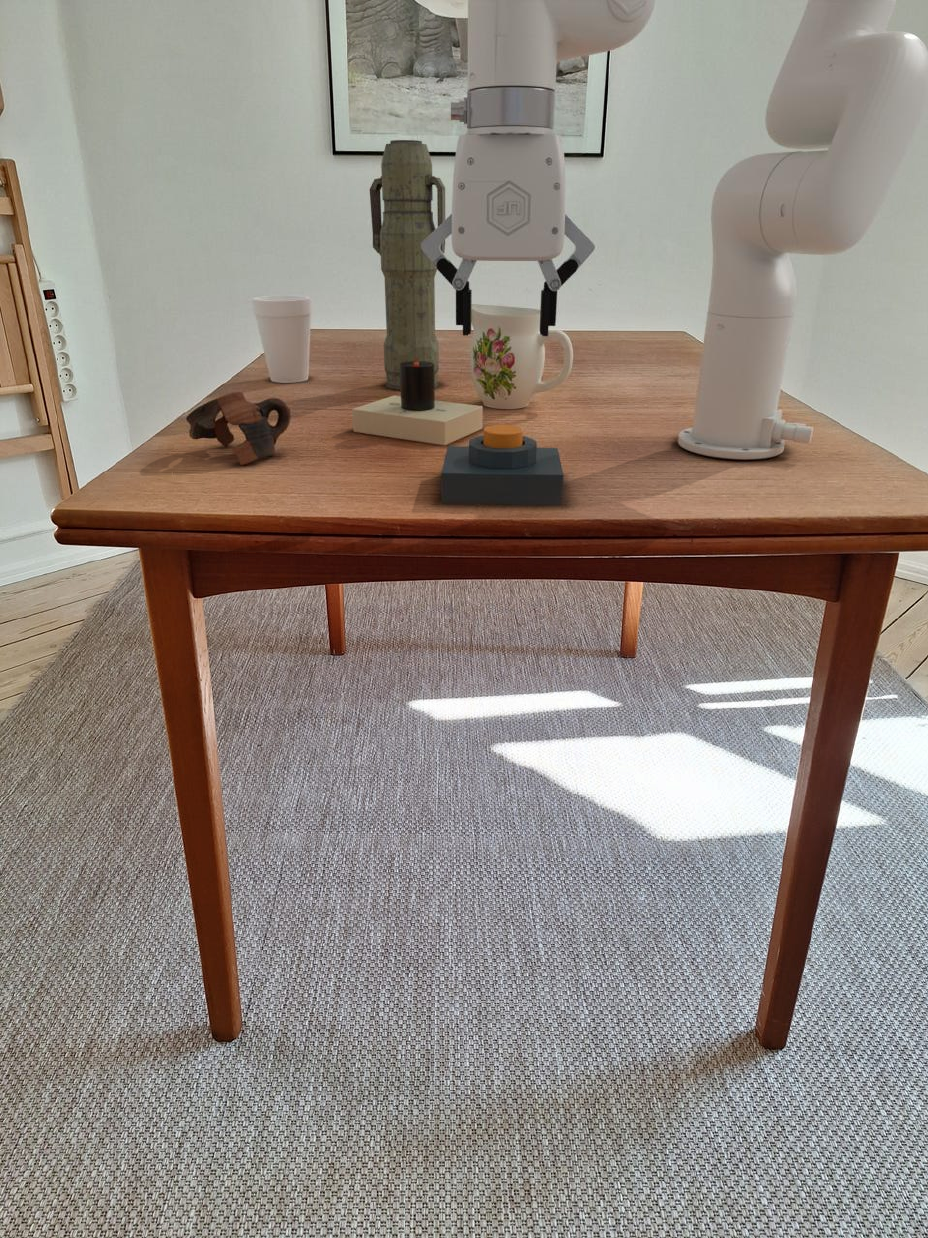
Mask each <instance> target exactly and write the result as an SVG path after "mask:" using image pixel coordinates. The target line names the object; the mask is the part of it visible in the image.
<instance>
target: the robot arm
mask: <svg viewBox="0 0 928 1238" xmlns="http://www.w3.org/2000/svg"><path fill="white" fill-rule="evenodd" d="M896 2H897V0H808V1H807V4H806V6H805V10H804V12H803V15H802V17H801V20H800V22H799V24H798V27H797V29H796V31H795V34H794V36H793V39H792V41H791V43H790V46H789V48H788V50H787V53H786V55H785V58H784V60H783V62H782V65H781V67H780V70H779V71H778V75H777V76H776V79H775V82H774V84H773V87H772V90H771V92H770V94H769V99H768V102H767V106H766V108H765V118H764V122H765V123H764V124H765V129H766V132H767V135H768V136H769V138H770V139H771V140H772V141H773V142H774V143H775V144H777V145H779V146H780V147H784V148H787V149H794V150H797V151H784V152H782V151H781V152H769V153H768V152H767V153H760V154H756V155H755V154H754V155H752V156H749V157H746V158H744V159H742V160H739V161H738V162H735V164H733V165H732V166H731V167H730V168H728V170H726V172H724V174H723V175H722V177H721V178H720V179H719V181H718V183H717V186H716V188H715V191H714V193H713V197H712V201H711V211H710V212H711V213H710V223H711V237H712V239H711V241H712V242H711V243H712V267H711V269H712V270H711V281H710V291H709V299H708V306H707V312H706V313H707V314H706V320H705V328H704V335H703V336H704V337H703V344H702V351H701V352H702V353H701V359H700V367H699V375H698V381H697V388H696V389H697V390H696V397H695V403H694V413H693V419H692V427H689V428H686V429H683V430H681V431H680V432H679V433H678V437H677V444H678V445H679V446H680V447H681V448H683V449H685V450H686V451H688V452H690V453H694V454H697V455H701V456H705V457H711V458H717V459H727V460H745V461H747V460H748V461H749V460H762V459H763V460H765V459H770V458H773V457H776V456H779V455H780V454H782V453H783V452H784V449H785V441H792V442H793V443H798V444H799V443H801V444H808V445H809V444H811V441H812V438H813V433H814V426H807V425H806V423H800V422H788V421H787V422H786V419H782V416H783V410H782V409H778V406H779V401H780V395H781V391H782V384H783V378H784V372H785V367H786V361H787V357H788V356H787V355H788V349H789V344H790V338H791V333H792V326H793V322H794V315H795V312H796V305H797V300H798V286H797V279H796V274H795V270H794V265H793V264H792V260H791V257H790V254H795V255H796V254H798V255H812V256H814V255H816V256H817V255H819V256H820V255H821V256H831V255H836V254H841V253H844V252H846V251H849V250H850V249H851V248H853V247H854V246H855V245H857V244H858V243H859V242H860V241H861V240H862V239H863V237H864V236H865V235H866V234H867V232H868V230H869V229H870V228H871V226H872V224H873V222H874V221H875V219H876V217H877V215H878V213H879V211H880V209H881V207H882V204H883V203H884V201H885V199H886V196H887V195H888V192H889V190H890V188H891V186H892V183H893V181H894V180H895V177H896V174H897V172H898V170H899V169H900V166H901V165H902V162H903V159H904V157H905V156H906V153H907V151H908V149H909V147H910V145H911V142H912V141H913V138H914V137H915V134H916V132H917V130H918V127H919V125H920V122H921V120H922V118H923V116H924V112H925V109H926V106H927V103H928V49H927V46H926V45H925V43H924V42H923V41H922V39H920V38H919V37H918V36H917V35H915V34H913V33H911V32H908V31H903V30H889V31H887V28H888V26H889V23H890V21H891V18H892V15H893V13H894V9H895V7H896V4H897V3H896ZM655 4H656V0H467V92H466V97H463V100H459V102H458V101H457V102H455V101H454V102H450V121H459V123H463V124H464V126H465V125H466V128H467V130H466V131H467V133H466V134H461V135H458V139H457V145H456V150H455V158H454V166H453V177H452V179H453V180H452V195H451V196H452V199H451V200H452V201H451V213H450V215H449V216H448V217H446V218H445V221H444V222H443V223H442V224H441V225H439V226H438V225H437V227H435V230H434V231H433V232H432V233H431V234H430V235H429V236H428V237H427V238H426V239H425V240H424V241H423V242H422V244H421V249H422V251H423V252H424V253H425V254H426V256H427V257H428V258H429V259H430V261H431V262H432V263H433V264H434V265H435V266H436V268H437V271H438V272H439V273H440V274H441V275H442V277H444V278H445V280H446V281H447V282H448V283H449V284H450V285H451V286H452V288H453V289H454V290H455V326H462V336H464V337H465V336H467V337H469V335H471V334H472V323H471V306H472V304H473V303H472V299H473V298H472V297H473V295H472V292H473V291H472V289H470V281H469V278H470V276H471V274H472V272H473V269H474V268H475V265H476V264H477V263H476V262H479V261H481V262H491V261H492V262H537V264H538V265H539V268H540V271H541V273H542V276H543V278H544V280H545V281H544V282H543V288H542V289H541V290H540V308H539V310H540V335H542V336H548V331H549V327H556V322H557V306H558V305H557V303H558V291H559V290H560V289H561V287H562V286H563V285H564V284H565V283H566V282H567V281H569V279H571V277H572V276H573V275H574V274H575V273H576V272H577V271H578V269H579V268H580V267H581V266H582V265H583V264H584V263H585V261H586V260H587V259H588V258H589V257H590V256H591V254H593V253H594V251H595V248H596V246H595V243H594V242H593V240H591V239H590V238H589V237H588V236H587V234H586V233H584V231H582V230H581V228H580V227H578V225H577V224H576V223H575V222H574V221H573V220H572V219H571V218H570V217H569V216H568V215H567V213H566V163H565V161H566V160H565V150H564V142H563V136H562V135H561V134H560V135H559V134H554V128H555V127H554V125H555V110H556V109H555V108H556V107H555V106H556V87H557V85H556V84H557V64H558V63H560V62H564V61H568V60H571V59H576V58H580V57H587V56H593V55H597V54H602V53H606V52H610V51H614V50H616V49H619V48H621V47H623V46H625V45H627V44H628V43H630V42H632V41H633V40H634V39H636V37H638V36H639V34H641V32H642V31H644V29H645V27H646V25H647V24H648V22H649V21H650V19H651V17H652V14H653V11H654V8H655ZM822 149H823V150H822ZM825 149H826V150H825ZM798 150H799V151H798ZM802 150H809V151H802ZM449 237H451V246H452V247H451V248H452V251H453V253H454V254H455V255H456V256H457V257H459V258H460V259H462V260H461V261H460V263H459V266H458V268H457V267H456V266H455V265H454V264H453V263H452V262H451V260H449V259H448V258H447V256H446V255H445V253H443V252H442V251H441V249H440V246H441V244H442V242H443V241H444V240H445V241H446V239H448V238H449ZM565 237H566V238H567V239H569V241H570V242H571V243H573V245H574V251H573V252H572V253H571V254H570V255H569V257H568V258H567V259H566V260H565V261H564V262H563V263H562V264H561V265H560V266H559V267H558V268H557V269H556V266H555V264H554V261H553V260H554V259H555V258H557V257H559V256H560V255H561V254H562V252H563V249H564V243H565Z"/></svg>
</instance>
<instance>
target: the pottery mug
mask: <svg viewBox="0 0 928 1238" xmlns="http://www.w3.org/2000/svg"><path fill="white" fill-rule="evenodd" d="M273 411H276V413H277V420H276V423H275V425H272V424H270V422H269V416H270V413H271V412H273ZM219 413H221V414H222V416H221V417H220V418H217V416H218V415H219ZM291 417H292V414H291V409H290V408H289V406H288V405H287V402H285V401H284V400H282V399H280V398H276V397H271V398H267V399H264V400H262V401H260V402H254V403H253V402H252V401H249V400H247V399H246V397H245V395H244V393H243V392H242V391H235V392H230V393H228V394H227V393H226V394H224V395H222V396H219V397H216V398H215V399H214V398H213V399H211V400H209V401H207V402H205V403H203V404H202V405H200V406H198V407H197V408H195V409H194V410H192V411H191V412H190V413H188V415H187V416H186V418H185V419H186V422H187V423H188V424H189V426H190V429H189V434H188V435H189V437H190V438H191V439H192V440H199V439H207V440H210V439H211V440H212V439H213V440H214V439H216V440H217V442H218V443H219V444H221V445H222V446H224V447H228V446H229V445H230V444H232V443H233V442H235V441H234V440H235V435H234V434H233V433H232V432H231V430H230V428H229V425H228V424H230V425H232V426H237V427H238V428H239V430H240V431H241V432H242V434H243V435H244V437H245V440H244V441H243V442H242V443H239V444H237V445H236V446H233V447H232V452H233V454H234V455H235V456H236V459H237V461H238V463H239V465H240V466H244V465H246V464H247V465H248V464H249V463H253V462H254V461H256V460H258V459H262V458H267V457H270V456H275V455H276V448H275V445H276V444H277V440H278V439H279V437H280V436H281V435H282V434H284V433H285V431H287V429H288V427H289V425H290V422H291V419H292V418H291Z"/></svg>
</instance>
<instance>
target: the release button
mask: <svg viewBox="0 0 928 1238" xmlns="http://www.w3.org/2000/svg"><path fill="white" fill-rule="evenodd" d="M482 436H483V445H484V446H486V447H491V448H516V447H521V446H522V438H523V436H524V430H523V428H522V427H520V426H517V425H511V424H493V425H488V426H485V427H484V428H483V435H482Z"/></svg>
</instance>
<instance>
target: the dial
mask: <svg viewBox="0 0 928 1238" xmlns="http://www.w3.org/2000/svg"><path fill="white" fill-rule="evenodd" d="M400 387H401V390H400V396H401V408H402V409H405V410H411V411H424V410H430V409H433V408H434V407H435V399H436V398H435V393H436V392H435V388H434V363H432V362H427V361H408V362H403V363H400Z"/></svg>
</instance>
